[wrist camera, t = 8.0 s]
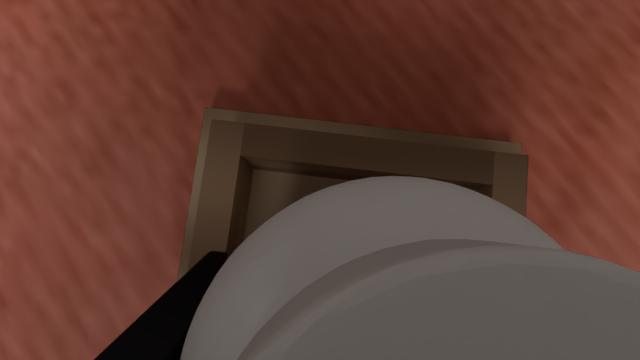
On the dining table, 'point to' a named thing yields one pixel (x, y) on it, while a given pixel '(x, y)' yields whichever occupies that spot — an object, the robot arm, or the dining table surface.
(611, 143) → the dining table surface
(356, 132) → the walnut collar
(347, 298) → the supplement bottle
